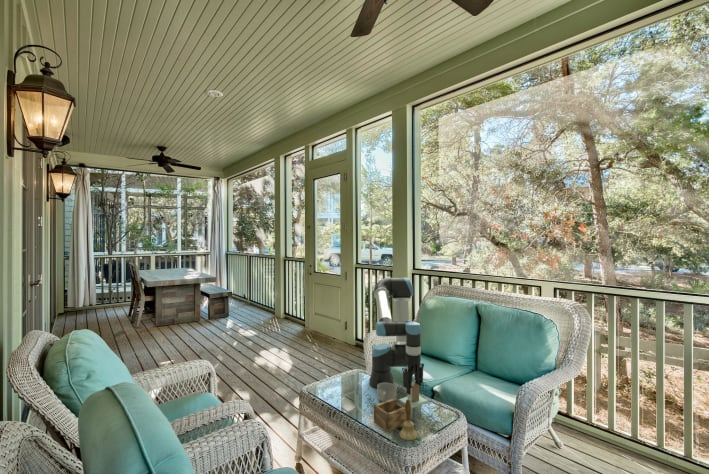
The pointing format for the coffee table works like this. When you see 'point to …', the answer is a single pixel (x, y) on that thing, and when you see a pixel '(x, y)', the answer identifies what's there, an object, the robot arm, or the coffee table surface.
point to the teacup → (386, 391)
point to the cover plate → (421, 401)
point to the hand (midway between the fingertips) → (413, 398)
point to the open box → (390, 414)
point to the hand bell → (408, 425)
